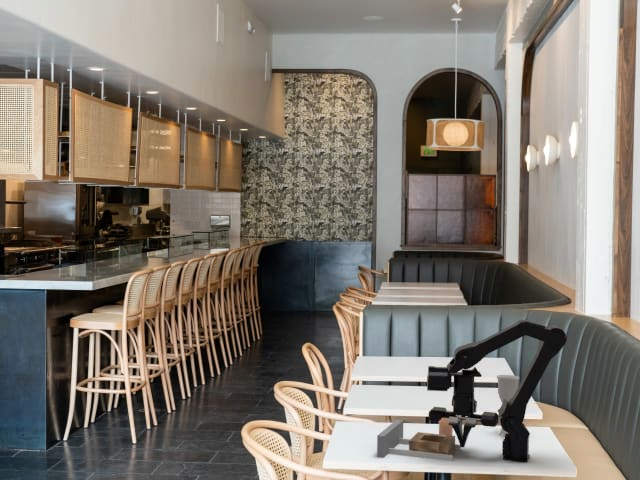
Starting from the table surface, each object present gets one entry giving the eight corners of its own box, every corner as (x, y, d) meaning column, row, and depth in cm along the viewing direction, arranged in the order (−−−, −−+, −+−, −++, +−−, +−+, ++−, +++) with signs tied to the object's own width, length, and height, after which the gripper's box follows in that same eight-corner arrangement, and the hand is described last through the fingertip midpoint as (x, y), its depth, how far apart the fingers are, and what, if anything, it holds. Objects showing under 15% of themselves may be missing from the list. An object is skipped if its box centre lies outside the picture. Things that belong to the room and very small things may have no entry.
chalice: (523, 436, 248) (524, 378, 247) (504, 438, 245) (505, 379, 245) (509, 430, 254) (510, 374, 254) (491, 432, 252) (491, 375, 251)
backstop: (463, 446, 237) (463, 425, 236) (449, 465, 218) (449, 443, 218) (396, 439, 244) (396, 419, 244) (377, 456, 225) (377, 435, 225)
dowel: (453, 440, 243) (453, 410, 242) (450, 444, 239) (451, 413, 239) (440, 439, 244) (440, 409, 244) (437, 442, 240) (437, 412, 240)
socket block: (455, 449, 232) (455, 436, 232) (447, 459, 223) (447, 444, 223) (417, 445, 236) (417, 432, 236) (408, 454, 227) (409, 440, 227)
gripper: (501, 389, 230) (500, 443, 231) (437, 383, 237) (436, 436, 237) (495, 396, 220) (494, 453, 220) (428, 390, 227) (427, 446, 227)
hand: (462, 446), depth 227 cm, fingers closed
